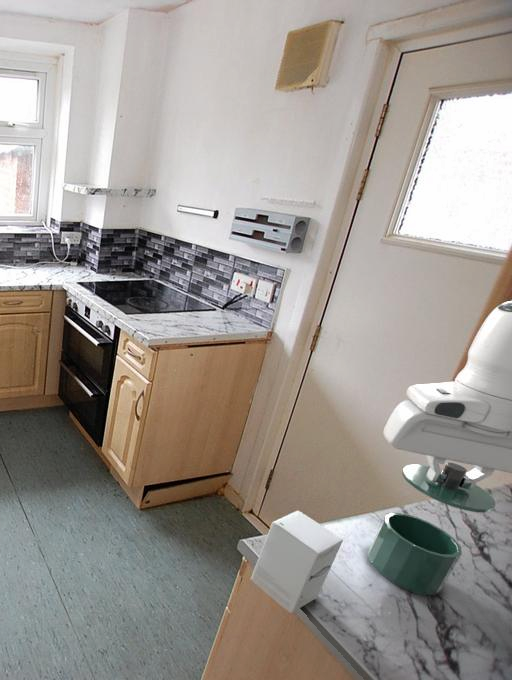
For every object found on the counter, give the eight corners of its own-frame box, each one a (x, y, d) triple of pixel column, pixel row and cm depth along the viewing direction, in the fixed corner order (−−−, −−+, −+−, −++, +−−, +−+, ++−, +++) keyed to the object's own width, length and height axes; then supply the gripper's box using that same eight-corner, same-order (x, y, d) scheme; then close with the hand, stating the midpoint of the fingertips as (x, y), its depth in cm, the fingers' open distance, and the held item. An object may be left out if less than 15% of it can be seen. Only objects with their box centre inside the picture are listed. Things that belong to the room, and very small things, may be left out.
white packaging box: (291, 616, 71) (318, 554, 67) (248, 579, 77) (270, 520, 73) (318, 599, 75) (345, 539, 70) (275, 565, 81) (297, 508, 76)
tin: (422, 559, 85) (442, 523, 82) (452, 604, 76) (475, 565, 73) (359, 541, 88) (375, 506, 85) (380, 582, 79) (399, 544, 76)
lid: (466, 480, 76) (479, 457, 75) (510, 524, 67) (525, 498, 65) (388, 463, 80) (399, 440, 78) (419, 503, 70) (432, 477, 68)
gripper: (561, 412, 68) (517, 489, 72) (397, 383, 73) (366, 456, 78) (597, 433, 62) (546, 515, 67) (416, 400, 68) (381, 477, 73)
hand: (448, 483), depth 73 cm, fingers closed on lid, 2 cm apart
